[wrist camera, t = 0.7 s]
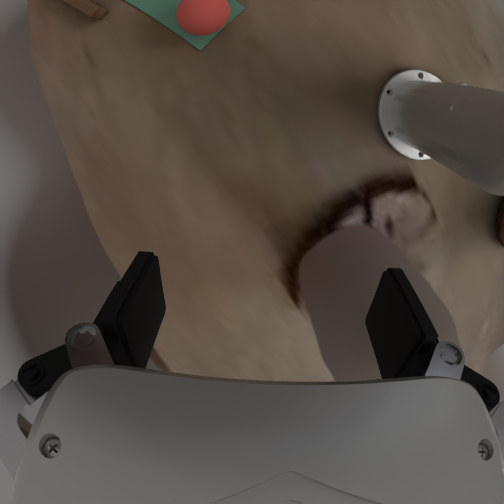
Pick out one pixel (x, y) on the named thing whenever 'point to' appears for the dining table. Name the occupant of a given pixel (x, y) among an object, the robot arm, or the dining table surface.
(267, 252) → the dining table surface
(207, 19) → the ball
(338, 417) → the robot arm
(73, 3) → the backstop
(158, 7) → the strip
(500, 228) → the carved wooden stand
